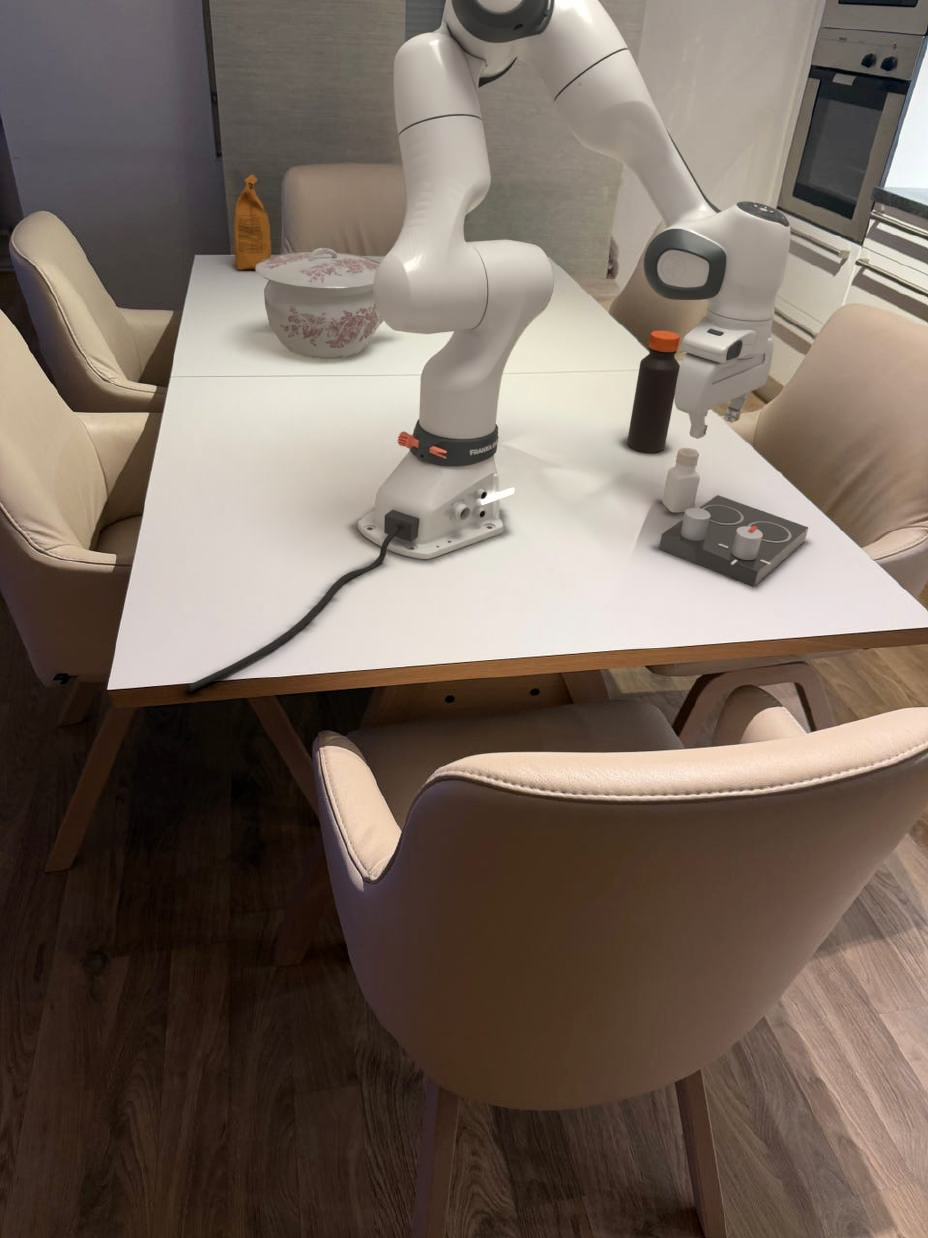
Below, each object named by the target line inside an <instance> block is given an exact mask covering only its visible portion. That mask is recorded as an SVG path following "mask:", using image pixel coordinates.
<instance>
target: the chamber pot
mask: <svg viewBox="0 0 928 1238" xmlns="http://www.w3.org/2000/svg"><path fill="white" fill-rule="evenodd" d="M380 262H381V261H378V260H374V259H371V258H369V257H365V256H362V255H358V254H353V253H348V252H338V251H335V250H334V249H331V248H328V247H319V248H316V249H314V250H306V251H305V250H304V251H292V252H285V253H280V254H277V255H271V257H269V258H266V259H263V260H262V261H260V262H259V263H258V264H257V265H256V266H255V268H256V269H255V273H256V274H258V275H259V276H261V278H263V279H265V280H268V281H267V282H266V285H265V286H264V289H263V296H264V298H263V299H264V308H265V312H266V316H267V320H268V325H269V326H270V328H271V330H272V331H273V333H274V334H275V336H276V337H277V339H278V340H279V342H280V343H281V344H282V345H283V347H285V348H286V349H287V350H288V351H290V352H292V353H295V354H298V355H300V356H302V357H303V356H304V357H307V358H312V359H319V360H324V359H326V360H331V359H343V358H345V357H350V356H353V355H356V354H358V353H360V352H362V351H363V350H365V348H367V346H368V344H369V343H370V342H371V340H372V338H373V336H374V335H375V334H376V332H377V330H378V328H379V327H380V325H381V324H382V323H384V322H385V321H384V320H383V319H382V317H381V316H380V314H379V312H378V310H377V308H376V305H375V302H374V297H373V282H374V276H375V273H376V270H377V268H378V266H379V264H380Z"/></svg>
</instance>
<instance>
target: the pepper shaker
mask: <svg viewBox="0 0 928 1238" xmlns="http://www.w3.org/2000/svg"><path fill="white" fill-rule="evenodd" d="M699 456H700V453H699V451H698V450H697V449H694V448H691V447H690V448H689V447H682V448H679V449H678V450H677V453H676V459H675V466H673V467H670V468H669V469H668V470H667V474H666V479H665V483H664V490H663V494H662V498H661V499H662V501H661V502H662V504H663V505H664V507H665V508H667V509H668V511H670V512H671V513H676V514H677V513H685V511H686V510H687V509H688V508H695V504H696V499H697V495H698V490H699V485H700V480H701V475H700V474H699V473H698V471H697V470H696V468H697V466H698V461H699Z"/></svg>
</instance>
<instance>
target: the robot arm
mask: <svg viewBox="0 0 928 1238" xmlns="http://www.w3.org/2000/svg"><path fill="white" fill-rule="evenodd" d="M517 59H518V61H520V62H523V63H524V64H526V65H528V66H529V67H530V68H532V69H533V70H534V71H535V73H536V74H537V75H538V76H539V78H540V79H541V80H542V81H543V83H544V85H545V87H546V90H547V92H548V94H549V96H550V98H551V100H552V102H553V103H554V106H555V108H556V110H557V112H558V114H559V115H560V117H561V119H562V121H563V122H564V124H565V125H566V127H567V129H568V130H569V131H570V132H571V133H572V135H573V136H574V138H575V139H576V140H577V141H578V142H579V143H580V145H581V146H583V147H584V148H586V149H587V150H589V151H591V152H593V153H594V152H595V153H597V154H601V155H603V156H606V157H608V158H612V159H613V160H615V161H617V162H619V163H621V164H622V165H624V166H625V167H626V168H628V169H629V170H630V171H631V172H632V173H633V174H634V176H635V177H636V178H637V179H638V181H639V182H640V183H641V186H642V187H643V189H644V190H645V193H646V194H647V196H648V198H649V200H650V201H651V203H652V204H653V206H654V207H655V210H656V211H657V213H658V214H659V216H660V218H661V219H662V222H663V223H664V225H665V229H663V230H662V231H660V232H659V233H658V234H657V235H656V236H655V237H653V239H652V240H651V241H650V242H649V244H648V246H647V248H646V250H645V253H644V257H643V272H644V276H645V279H646V281H647V284H648V285H649V287H650V288H651V289H652V290H653V291H654V293H656V294H657V295H659V296H661V297H662V298H664V299H668V300H674V301H701V300H706V301H707V308H706V313H705V316H703V317H702V318H701V320H700V321H699V322H698V323H697V324H696V325H695V327H694V328H692V329H691V330H690V331H689V332H688V333H687V334H686V335H684V337H683V339H682V343H681V351H682V352H684V353H685V355H684V356H683V358H682V359H681V362H680V363H679V365H680V368H679V373H678V378H677V384H676V390H675V396H674V401H673V403H674V405H675V408H676V409H677V410H678V411H680V412H683V413H685V414H688V417H689V421H690V428H689V429H690V430H689V436H690V437H691V438H694V439H698V440H699V439H702V438H704V437H705V436H706V434H707V430H708V427H709V425H707V424H706V420H705V419H706V418H705V417H707V416H708V413H709V411H710V410H712V409H715V408H717V407H719V406H722V405H724V404H726V403H729V405H728V407H726V408H725V410H724V416H723V419H724V421H726V422H729V423H731V424H733V423H735V422H737V421H739V420H740V419H741V415H742V410H743V409H744V406H745V405H746V403H747V402H748V400H749V399H750V394H751V392H754V391H756V390H759V389H760V388H762V387H764V386H765V384H766V383H767V381H768V379H769V376H770V371H771V365H772V359H773V354H774V346H775V345H774V340H773V339H772V337H771V336H772V331H773V330H772V326H773V322H774V317H775V312H776V309H775V301H776V297H777V294H778V292H779V290H780V288H781V287H782V284H783V282H784V277H785V274H786V273H785V272H786V267H787V263H788V258H789V252H790V245H791V233H792V232H791V225H790V222H789V220H788V218H787V217H786V215H784V214H783V213H782V212H780V211H779V210H778V209H776V208H774V207H772V206H770V205H766V204H763V203H760V202H753V201H749V200H748V201H745V200H744V201H738V202H737V203H735V204H734V205H732V206H730V207H729V208H726V209H724V210H723V211H722V210H721V209H719V207H717V206H716V205H714V203H712V202H711V201H710V199H708V197H707V195H706V194H705V193H704V192H703V190H702V188H701V186H700V185H699V183H698V182H697V179H696V178H695V175H694V174H693V173H692V171H691V169H690V167H689V166H688V164H687V162H686V160H685V159H684V156H683V155H682V153H681V151H680V150H679V148H678V146H677V145H676V143H675V141H674V139H673V137H672V136H671V134H670V133H669V131H668V130H667V127H666V126H665V124H664V122H663V119H662V117H661V114H660V113H659V111H658V109H657V107H656V105H655V103H654V100H653V99H652V96H651V94H650V91H649V89H648V87H647V85H646V83H645V80H644V78H643V76H642V74H641V72H640V70H639V69H640V68H638V66H637V65H638V64H637V63H636V61H635V59H634V57H633V55H632V53H631V51H630V50H629V46H628V45H627V43H626V41H625V39H624V38H623V35H622V34H621V32H620V30H619V29H618V27H617V26H616V24H615V23H614V21H613V19H612V18H611V17H610V14H609V13H608V12H607V11H606V9H605V7H604V6H603V5H602V3H601V2H600V1H599V0H445V4H444V9H443V14H442V18H441V24H440V26H439V27H438V29H436V30H434V31H432V32H424V33H421V34H417V35H416V36H414V37H412V38H409V40H407V41H405V42H404V43H403V44H402V45H401V46H400V48H399V49H398V50H397V52H396V54H395V57H394V60H393V73H392V74H393V76H392V77H393V79H392V81H393V82H392V83H393V84H392V85H393V105H394V116H395V126H396V132H397V138H398V145H399V151H400V157H401V163H402V171H403V179H404V186H405V187H404V190H405V212H404V218H403V223H402V227H401V229H400V232H399V234H398V236H397V239H396V241H395V243H394V244H393V246H392V247H391V249H390V250H389V251H388V252H387V254H385V256H383V257H382V259H381V261H379V262H380V264H379V266H378V268H377V270H376V273H375V276H374V282H373V297H374V302H375V305H376V308H377V310H378V312H379V314H380V316H381V317H382V319H383V320H384V321H383V322H384V323H385V325H387V326H388V327H389V328H390V329H391V330H393V331H395V332H402V333H409V334H420V335H433V334H442V333H443V334H444V333H452V332H453V333H452V335H451V337H450V338H449V340H448V341H447V343H446V344H445V345H444V346H443V347H442V348H441V349H440V350H439V351H437V352H436V353H435V354H434V355H433V356H431V357H430V358H429V359H428V360H427V362H426V363H425V364H424V365H423V368H422V371H421V374H420V384H419V385H420V386H419V387H420V388H419V413H418V414H419V415H418V419H417V421H415V422H416V423H415V426H414V428H413V432H412V434H410V433H408V432H406V431H401V432H400V433H398V435H399V436H397V440H396V441H397V444H398V445H399V446H401V447H406V449H408V452H407V453H406V455H405V456H404V457H403V458H402V460H400V462H399V463H398V464H397V465H396V467H395V468H394V469H393V471H392V472H391V473H390V474H389V475H388V476H387V478H386V479H385V481H383V483H382V484H381V485H380V486H379V488H378V490H377V492H376V497H375V504H374V509H373V510H371V511H370V512H368V513H367V514H366V515H364V516H363V517H361V518H360V519H359V520H358V521H357V529H358V531H359V532H360V534H361V535H363V536H364V537H365V538H366V539H367V540H368V541H370V542H372V543H374V544H375V545H378V546H380V551H379V555H378V557H377V558H376V559H375V560H374V561H373V562H372V563H370V565H367V566H365V567H363V568H359V569H356V570H352V571H349V572H347V573H346V574H344V575H342V576H341V577H339V578H338V579H337V580H336V581H335V582H334V583H333V584H332V585H331V586H330V588H329V589H328V590H327V591H326V593H325V594H324V596H323V597H322V598H321V599H320V600H319V601H318V602H317V603H316V604H315V605H314V607H312V609H311V610H309V611H308V613H306V615H304V616H303V617H302V618H301V619H300V620H299V621H298V622H297V623H295V624H294V625H293V626H292V627H290V628H289V629H288V630H287V631H286V632H284V633H283V634H282V635H280V636H279V637H277V638H275V639H274V640H272V641H271V642H270V643H268V644H266V645H265V646H263V647H261V648H259V649H258V650H256V651H254V652H252V653H251V654H249V655H246V656H245V657H244V658H242V659H240V660H238V661H235V662H234V663H232V664H230V665H228V666H226V667H224V668H222V669H219V670H217V671H215V672H213V673H211V674H209V675H207V676H205V677H202V678H200V679H198V680H197V681H194V682H192V683H190V684H188V685H187V689H188V691H189V692H194V691H196V690H198V689H200V688H203V687H204V686H206V685H208V684H211V683H213V682H215V681H216V680H219V679H221V678H223V677H225V676H227V675H229V674H231V673H233V672H235V671H238V670H239V669H241V668H243V667H245V666H246V665H248V664H250V663H252V662H254V661H256V660H257V659H259V658H261V657H263V656H264V655H266V654H268V653H270V652H272V651H273V650H274V649H276V648H277V647H279V646H280V645H282V644H283V643H285V642H286V641H288V640H289V639H291V637H293V636H294V635H296V633H298V632H299V631H301V629H302V628H304V627H305V626H306V625H307V624H308V623H309V622H310V621H311V620H312V619H313V618H314V617H315V616H316V615H317V614H318V613H319V612H320V611H321V610H322V609H323V608H324V607H325V605H326V604H327V603H328V602H329V601H330V599H331V598H332V597H333V595H334V594H335V593H336V592H337V590H338V589H339V588H341V586H342V585H343V584H345V583H346V582H347V581H349V580H351V579H352V578H355V577H359V576H362V575H364V574H366V573H369V572H370V571H372V570H374V569H376V568H378V567H379V566H380V565H381V564H382V563H383V562H384V560H385V558H386V555H387V550H388V551H390V552H393V553H396V554H398V555H402V556H406V557H408V558H412V559H413V558H415V559H419V560H431V559H434V558H436V557H439V556H442V555H446V554H447V553H450V552H453V551H457V550H459V549H461V548H465V547H468V546H470V545H473V544H476V543H479V542H481V541H484V540H486V539H489V538H492V537H495V536H497V535H501V534H503V533H504V523H503V521H502V519H501V518H500V499H502V498H505V497H507V496H511V495H513V494H514V493H515V488H514V487H510V488H508V489H505V490H502V491H500V479H499V474H498V470H497V466H496V460H495V455H496V453H497V451H498V443H499V439H500V438H499V425H498V424H497V416H498V406H499V399H500V398H499V397H500V392H501V384H502V380H503V379H502V378H503V375H504V371H505V368H506V365H507V363H508V361H509V358H510V356H511V354H512V352H513V350H514V348H515V346H516V345H517V343H518V341H519V339H520V338H521V337H522V335H523V333H524V332H525V330H526V329H528V327H529V326H530V324H532V323H533V321H534V320H536V319H537V318H538V317H539V316H540V315H541V314H543V313H544V311H546V309H547V307H548V306H549V304H550V302H551V299H552V296H553V293H554V287H555V276H554V275H555V274H554V270H553V266H552V263H551V261H550V259H549V257H548V255H547V254H546V253H545V251H544V249H542V248H541V247H540V246H538V245H537V244H534V243H529V242H525V241H518V240H513V239H492V240H491V239H490V240H480V241H479V240H478V241H477V240H476V241H466V239H465V232H464V231H465V230H464V227H465V219H466V216H467V215H468V214H469V213H471V212H472V211H473V210H474V209H476V208H477V207H478V206H479V205H480V204H481V203H482V202H483V201H484V200H485V198H486V197H487V195H488V193H489V190H490V187H491V184H492V183H491V182H492V174H491V167H490V160H489V154H488V148H487V147H488V146H487V140H486V133H485V128H484V121H483V115H482V110H481V106H480V101H479V100H480V99H479V88H481V87H484V86H485V85H487V84H490V83H492V82H494V81H496V80H498V79H500V78H501V77H503V76H504V75H505V74H506V73H507V72H508V71H510V70H511V68H512V67H513V66H514V64H515V62H516V60H517Z"/></svg>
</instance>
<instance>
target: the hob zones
mask: <svg viewBox="0 0 928 1238" xmlns="http://www.w3.org/2000/svg"><path fill="white" fill-rule="evenodd" d="M743 519H744V517H743V515H742V514H741V513H740V512H739V511H737V510H735V509H733V508H731V507H727V506H723V505H708V506H705V507H703V508H702V509H700V507H694V508H688V509H687V510H686V511H685V512H684V515H683V524H682V528H681V535H682V536H683V537H684V538H686V539H689V540H693V541H701V540H704V539H705V537H706V533H707V529H708V525H709V521H711V522H714V523H717V524H722V525H736V524H739V523H741V522H742V521H743ZM753 526H756V527H757V529H758V530H760V531H761V532H762V534H763V537H762V541H765V542H771V543H783V542H787V541H789V540H790V539H791V533H790V532H789V530H787V529H786V528H784V527H783V526H780V525H778V524H775V523H771V522H753V523H751V524H749V525H748V526H747V527H753Z"/></svg>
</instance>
